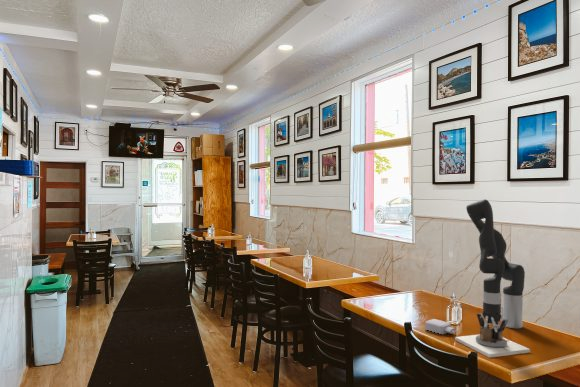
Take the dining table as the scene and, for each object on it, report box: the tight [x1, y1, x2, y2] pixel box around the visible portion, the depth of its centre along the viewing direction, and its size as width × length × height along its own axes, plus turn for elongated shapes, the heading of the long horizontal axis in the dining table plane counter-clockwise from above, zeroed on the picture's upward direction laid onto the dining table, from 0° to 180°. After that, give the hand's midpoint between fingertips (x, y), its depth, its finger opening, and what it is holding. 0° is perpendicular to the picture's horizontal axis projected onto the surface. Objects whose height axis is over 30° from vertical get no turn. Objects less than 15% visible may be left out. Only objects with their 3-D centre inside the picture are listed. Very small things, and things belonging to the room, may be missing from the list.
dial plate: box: [454, 333, 531, 359], centre depth 192 cm, size 22×22×2 cm
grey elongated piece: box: [424, 318, 458, 335], centre depth 211 cm, size 5×9×15 cm
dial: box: [476, 326, 507, 348], centre depth 192 cm, size 13×13×7 cm
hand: (491, 338), depth 192 cm, fingers closed on dial, 3 cm apart
